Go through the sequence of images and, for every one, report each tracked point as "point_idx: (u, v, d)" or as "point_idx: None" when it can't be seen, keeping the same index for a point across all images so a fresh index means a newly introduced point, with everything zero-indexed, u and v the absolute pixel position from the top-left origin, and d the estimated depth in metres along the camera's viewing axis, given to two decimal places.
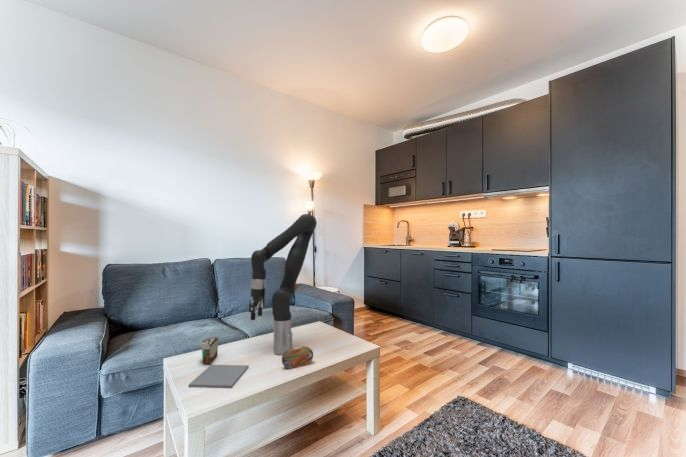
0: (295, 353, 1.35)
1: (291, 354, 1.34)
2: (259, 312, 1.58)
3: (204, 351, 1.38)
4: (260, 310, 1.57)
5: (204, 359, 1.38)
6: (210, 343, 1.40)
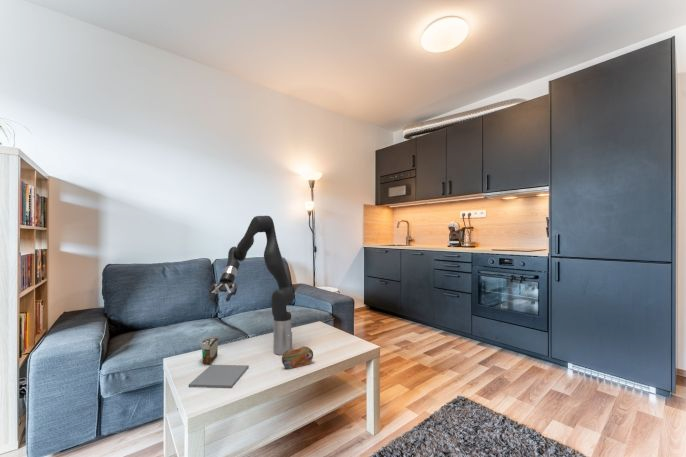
0: (295, 353, 1.35)
1: (291, 354, 1.34)
2: None
3: (204, 351, 1.38)
4: None
5: (204, 359, 1.38)
6: (210, 343, 1.40)
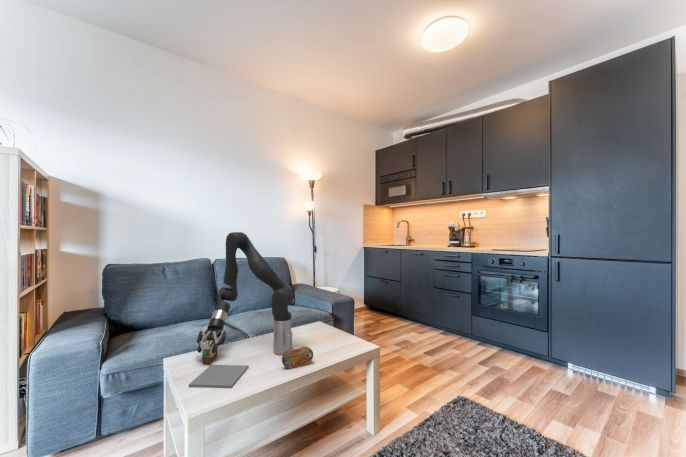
0: (295, 353, 1.35)
1: (291, 354, 1.34)
2: None
3: (204, 351, 1.38)
4: None
5: (204, 359, 1.38)
6: (210, 343, 1.40)
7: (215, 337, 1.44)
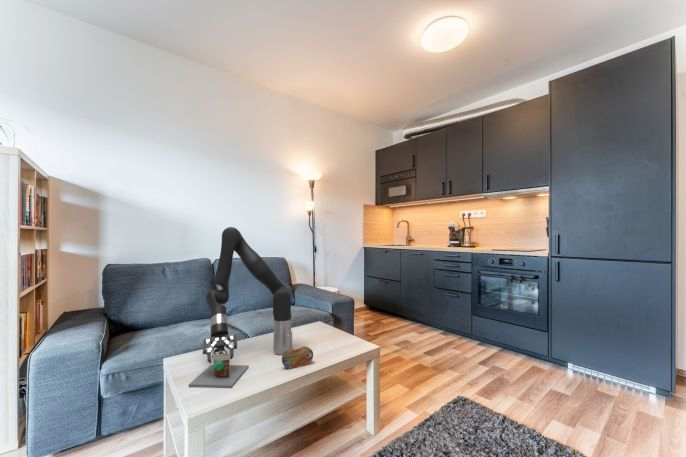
0: (295, 353, 1.35)
1: (291, 354, 1.34)
2: (230, 354, 1.28)
3: (221, 363, 1.23)
4: (230, 351, 1.29)
5: (221, 372, 1.23)
6: (225, 353, 1.26)
7: (228, 342, 1.30)
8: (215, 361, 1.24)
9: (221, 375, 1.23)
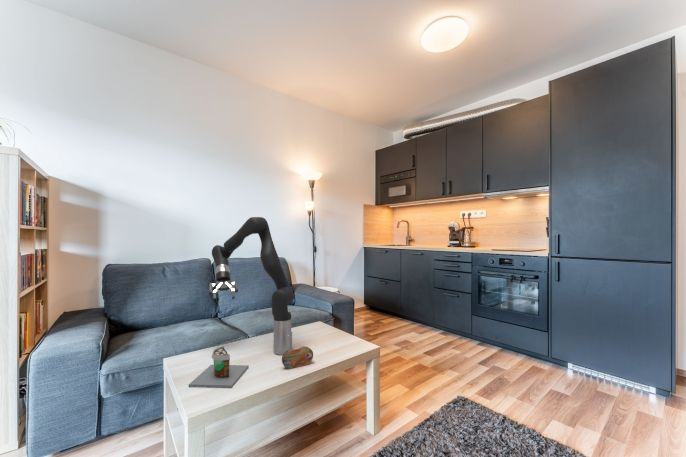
0: (295, 353, 1.35)
1: (291, 354, 1.34)
2: (232, 295, 1.53)
3: (221, 363, 1.23)
4: (232, 293, 1.54)
5: (221, 372, 1.23)
6: (225, 353, 1.26)
7: (230, 286, 1.55)
8: (215, 361, 1.24)
9: (221, 375, 1.23)
